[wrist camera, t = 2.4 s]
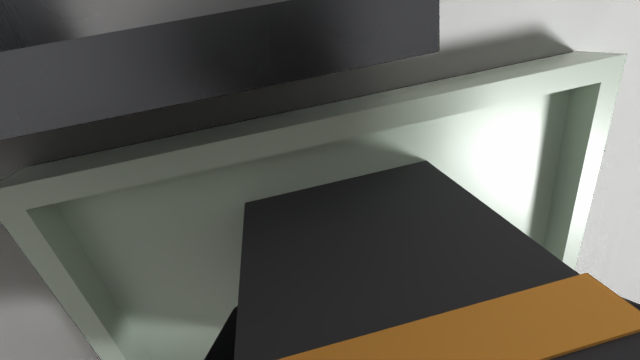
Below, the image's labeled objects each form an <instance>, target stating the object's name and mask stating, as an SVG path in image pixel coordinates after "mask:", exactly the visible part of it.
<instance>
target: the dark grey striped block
mask: <svg viewBox="0 0 640 360" xmlns="http://www.w3.org/2000/svg"><path fill="white" fill-rule="evenodd" d="M234 360H640V311H639V310H638V309H637V308H635V307H634V306H632V305H631V304H630V303H628V302H627V301H626V300H624V299H623V298H621V297H620V296H619V295H617V294H616V293H614V292H613V291H612V290H610V289H609V288H608V287H606V286H605V285H603V284H602V283H601V282H599V281H598V280H596V279H595V278H594V277H592V276H591V275H590V274H588V273H584V274H581V275H580V274H579V273H577V272H576V271H574V270H573V269H572V268H570V267H569V266H568V265H566V264H565V263H564V262H562V261H561V260H560V259H558V258H557V257H556V256H554V255H553V254H552V253H550V252H549V251H548V250H546V249H545V248H544V247H542V246H541V245H540V244H538V243H537V242H535V241H534V240H533V239H531V238H530V237H529V236H527V235H526V234H525V233H523V232H522V231H521V230H519V229H518V228H517V227H515V226H514V225H513V224H511V223H510V222H509V221H507V220H506V219H505V218H503V217H502V216H501V215H499V214H498V213H496V212H495V211H494V210H492V209H491V208H490V207H488V206H487V205H486V204H484V203H483V202H482V201H480V200H479V199H478V198H476V197H475V196H474V195H472V194H471V193H470V192H468V191H467V190H466V189H464V188H463V187H462V186H460V185H459V184H457V183H456V182H455V181H453V180H452V179H451V178H449V177H448V176H447V175H445V174H444V173H443V172H441V171H440V170H439V169H437V168H436V167H435V166H433V165H432V164H431V163H429V162H428V161H427V160H426V161H422V162H418V163H413V164H409V165H405V166H400V167H396V168H392V169H388V170H383V171H379V172H375V173H370V174H366V175H362V176H358V177H353V178H349V179H345V180H340V181H336V182H332V183H328V184H323V185H319V186H315V187H311V188H306V189H302V190H298V191H293V192H289V193H285V194H281V195H276V196H272V197H268V198H263V199H259V200H255V201H251V202H246V203H245V208H244V222H243V236H242V251H241V265H240V279H239V294H238V308H237V322H236V337H235V351H234Z"/></svg>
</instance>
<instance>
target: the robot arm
mask: <svg viewBox="0 0 640 360" xmlns="http://www.w3.org/2000/svg"><path fill="white" fill-rule="evenodd" d="M621 298H622V297H621ZM623 299H624V300H626V301H627V302H628V303H630V304H631V305H632V306H634V307H635V308H637V309H638V310H639V311H640V304H637V303H635V302H632V301H630V300H627V299H625V298H623ZM237 308H238V306H236V307H235V308H234V309H233V310H232V312H231V314H230V315H229V317H228V319H227V321H226V322H225V324H224V326H223V328H222V329H221V331H220V333H219V334H218V336H217V338H216V340H215V341H214V343H213V345H212V347H211V348H210V350H209V352H208V354H207V355H206V357H205V359H204V360H234V351H235V337H236V322H237Z"/></svg>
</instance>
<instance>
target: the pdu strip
mask: <svg viewBox="0 0 640 360" xmlns="http://www.w3.org/2000/svg"><path fill="white" fill-rule="evenodd" d="M434 52H439V0H0V140H3V139H8V138H13V137H18V136H23V135H28V134H33V133H38V132H43V131H48V130H53V129H58V128H63V127H67V126H72V125H77V124H82V123H87V122H92V121H97V120H102V119H107V118H112V117H117V116H122V115H127V114H132V113H137V112H142V111H147V110H152V109H157V108H162V107H167V106H172V105H177V104H181V103H186V102H191V101H196V100H201V99H206V98H211V97H216V96H221V95H226V94H231V93H236V92H241V91H246V90H251V89H256V88H261V87H266V86H271V85H276V84H281V83H286V82H290V81H295V80H300V79H305V78H310V77H315V76H320V75H325V74H330V73H335V72H340V71H345V70H350V69H355V68H360V67H365V66H370V65H375V64H380V63H385V62H390V61H395V60H400V59H404V58H409V57H414V56H419V55H424V54H429V53H434Z"/></svg>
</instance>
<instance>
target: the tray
mask: <svg viewBox="0 0 640 360" xmlns="http://www.w3.org/2000/svg"><path fill="white" fill-rule="evenodd" d="M626 57H627V54H620V53H601V52H582V51H575V52H571V53H566V54H561V55H556V56H552V57H547V58H542V59H537V60H533V61H528V62H523V63H518V64H514V65H509V66H504V67H499V68H495V69H490V70H485V71H480V72H476V73H471V74H466V75H461V76H457V77H452V78H447V79H442V80H438V81H433V82H428V83H423V84H419V85H414V86H409V87H404V88H400V89H395V90H390V91H385V92H381V93H376V94H371V95H366V96H362V97H357V98H352V99H347V100H343V101H338V102H333V103H328V104H324V105H319V106H314V107H309V108H304V109H300V110H295V111H290V112H285V113H281V114H276V115H271V116H266V117H262V118H257V119H252V120H247V121H243V122H238V123H233V124H228V125H224V126H219V127H214V128H209V129H205V130H200V131H195V132H190V133H186V134H181V135H176V136H171V137H167V138H162V139H157V140H152V141H148V142H143V143H138V144H133V145H129V146H124V147H119V148H114V149H110V150H105V151H100V152H95V153H91V154H86V155H81V156H76V157H72V158H67V159H62V160H57V161H53V162H48V163H43V164H38V165H34V166H29V167H24V168H22V169H20V170H19V171H17V172H15V173H13V174H12V175H10V176H8V177H7V178H5V179H3V180H1V181H0V221H1V223H2V224H3V225H4V227H5V228H6V230H7V231H8V232H9V234H10V235H11V236H12V238H13V239H14V241H15V242H16V243H17V245H18V246H19V247H20V249H21V250H22V252H23V253H24V254H25V256H26V257H27V258H28V260H29V261H30V263H31V264H32V265H33V267H34V268H35V269H36V271H37V272H38V274H39V275H40V276H41V278H42V279H43V280H44V282H45V283H46V285H47V286H48V287H49V289H50V290H51V292H52V293H53V294H54V296H55V297H56V298H57V300H58V301H59V303H60V304H61V305H62V307H63V308H64V309H65V311H66V312H67V314H68V315H69V316H70V318H71V319H72V320H73V322H74V323H75V325H76V326H77V327H78V329H79V330H80V331H81V333H82V334H83V336H84V337H85V338H86V340H87V341H88V342H89V344H90V345H91V347H92V348H93V349H94V351H95V352H96V353H97V355H98V356H99V358H100V359H101V360H204V359H205V357H206V355H207V354H208V352H209V350H210V348H211V347H212V345H213V343H214V341H215V340H216V338H217V336H218V334H219V333H220V331H221V329H222V328H223V326H224V324H225V322H226V321H227V319H228V317H229V315H230V314H231V312H232V310H233V309H234V308H235V307H236V306H238V294H239V279H240V265H241V251H242V236H243V222H244V208H245V203H246V202H251V201H255V200H259V199H263V198H268V197H272V196H276V195H281V194H285V193H289V192H293V191H298V190H302V189H306V188H311V187H315V186H319V185H323V184H328V183H332V182H336V181H340V180H345V179H349V178H353V177H358V176H362V175H366V174H370V173H375V172H379V171H383V170H388V169H392V168H396V167H400V166H405V165H409V164H413V163H418V162H422V161H426V160H427V161H428V162H429V163H431V164H432V165H433V166H435V167H436V168H437V169H439V170H440V171H441V172H443V173H444V174H445V175H447V176H448V177H449V178H451V179H452V180H453V181H455V182H456V183H457V184H459V185H460V186H462V187H463V188H464V189H466V190H467V191H468V192H470V193H471V194H472V195H474V196H475V197H476V198H478V199H479V200H480V201H482V202H483V203H484V204H486V205H487V206H488V207H490V208H491V209H492V210H494V211H495V212H496V213H498V214H499V215H501V216H502V217H503V218H505V219H506V220H507V221H509V222H510V223H511V224H513V225H514V226H515V227H517V228H518V229H519V230H521V231H522V232H523V233H525V234H526V235H527V236H529V237H530V238H531V239H533V240H534V241H535V242H537V243H538V244H540V245H541V246H542V247H544V248H545V249H546V250H548V251H549V252H550V253H552V254H553V255H554V256H556V257H557V258H558V259H560V260H561V261H562V262H564V263H565V264H566V265H568V266H569V267H570V268H572V269H573V270H574V271H575V268H576V264H577V260H578V255H579V251H580V247H581V243H582V239H583V235H584V231H585V226H586V222H587V218H588V214H589V210H590V206H591V202H592V197H593V193H594V189H595V185H596V181H597V177H598V173H599V168H600V164H601V160H602V156H603V152H604V148H605V144H606V139H607V135H608V131H609V127H610V123H611V119H612V115H613V110H614V106H615V102H616V98H617V94H618V90H619V86H620V81H621V77H622V73H623V69H624V65H625V61H626Z"/></svg>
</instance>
